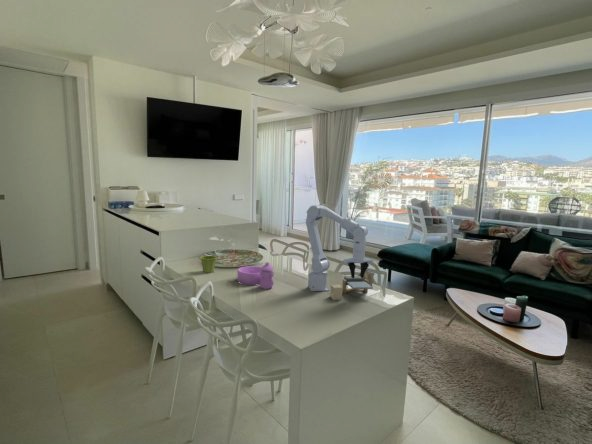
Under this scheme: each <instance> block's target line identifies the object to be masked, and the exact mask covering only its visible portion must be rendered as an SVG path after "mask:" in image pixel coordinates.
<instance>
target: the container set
mask: <svg viewBox="0 0 592 444" xmlns="http://www.w3.org/2000/svg"><path fill="white" fill-rule="evenodd" d="M274 269H275V268H274V266H273V265H271V264H270V262H265V263H264V265H261V266H254V265H253V266H252V265H249V266H248V265H247V266H241V267H238V268H237V275H236V276H237V278H236V279H237V281H238V282H240V283H242V284H241V285H244V284H247V285H246V286H257V285H256V284H259V286H260V287H261V289H264V290H269V289H272V287H273V286H274V283H275V281H274V279H273V277H274V276H275V271H274ZM238 282H237V283H238ZM240 283H239V284H240Z"/></svg>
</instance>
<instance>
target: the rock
mask: <svg viewBox="0 0 592 444" xmlns="http://www.w3.org/2000/svg"><path fill="white" fill-rule="evenodd" d="M360 273H361V271H360V272H359V274H357V276H360ZM374 276H375V273H374V272H371V271H369V270H368V269H366V271H365V274H364V277H363V281H364V279H367V280H368V284H369V285H370V286H372V287H373V284H374V282H375V277H374Z"/></svg>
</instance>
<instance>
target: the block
mask: <svg viewBox="0 0 592 444" xmlns="http://www.w3.org/2000/svg"><path fill="white" fill-rule="evenodd" d="M342 290H343V287H342V285H341V284H330V292H329V293H330V295H329V297H330V298H331V299H332V300H333V301H336V300H340V301H341V300H343V292H342Z"/></svg>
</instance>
